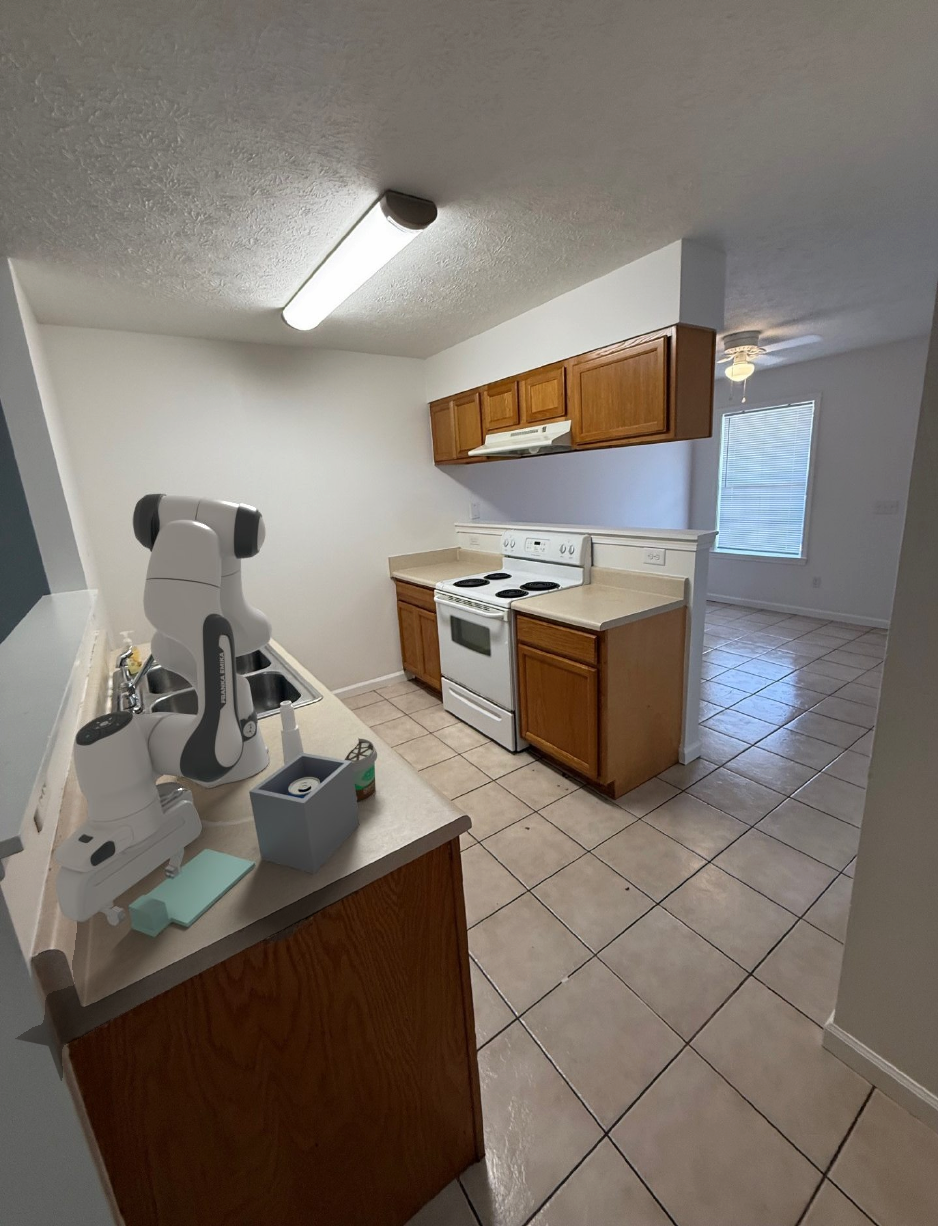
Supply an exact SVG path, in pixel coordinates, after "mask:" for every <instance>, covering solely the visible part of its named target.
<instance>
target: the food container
mask: <svg viewBox="0 0 938 1226" xmlns="http://www.w3.org/2000/svg"><path fill="white" fill-rule="evenodd" d="M357 742H358V743H357V744H356V745H355V746H354V748H352V749H351V750H350V751H349V752H348V753H347V755H346V756H345V758H344V760H348V761H352V767H353V775H354V783H355V791H356V799H357V804H358V803H361V802H364V801H366V800H367V799H369V798H371V797H372V796H373V795H374V794H375V792H376V767H375V763H376V761H377V758H378V753H377V749H376V746H375V745H374V743H373V742H372V741H370V740H368V739H365V738H358V741H357Z"/></svg>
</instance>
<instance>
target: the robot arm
mask: <svg viewBox="0 0 938 1226" xmlns="http://www.w3.org/2000/svg"><path fill="white" fill-rule="evenodd" d="M131 521H132V523H131V524H132V527H133V533H134V536H135V539H136V540H137V541H138V542H139V543H140V544H141V546H143V547H144V548H146V549H148V550H149V552H151V553H150V557H149V561H148V565H147V571H146V576H145V583H144V584H145V585H144V591H143V600H142V601H143V610H144V615H145V618H147V620H148V621H149V623H150V625H152V627H153V628H155V629H156V630H155V632H154V634H153V635H152V638H151V641H150V652H151V656H152V657H153V660H154V661H155V662H156V663H157V664H158V665H159V666H160V667H161V668H163V669H165V670H166V671H170V672H173V673H175V674H176V675H177V674H178V675H179V676H181V677H182V678H184V679H185V680H186V681H188V683H189V684H190V685H191V687H192V688H193V689H194V690H195V693H196V696H197V704H198V705H197V706H198V711H197V714H188V713H187V714H186V713H181V712H179V713H178V712H169V711H168V712H167V711H157V712H149V713H145V714H138V713H132V712H130V711H126V710H125V711H124V710H121V711H113V712H110V713H106V714H104V715H100V716H98V717H96V718H94V719H91V720H90V721H89V722H87V723H86V724H85V725H83V726H82V727H81V728H80V729H79V730H78V731H77V733H76V735H75V737H74V741H73V748H72V749H73V750H72V751H73V753H72V755H73V764H74V770H75V773H76V778H77V782H78V785H79V788H80V792H81V793H82V795H83V796H84V797H85V798H86V802H87V808H86V814H87V818H86V819H85V820H84V822H83V823H82V824H80V826H79V827H78V828H77V829H76V830H75V831H74V832H73V833H72V834H71V835H70V836H69V837H68V838H67V839H66V840H65V841H63V842H62V843H61V844H60V845H59V846H58V847H57V848H56V849H55V850H54V852H53V855H52V856H53V859H54V862H55V863H57V864H58V865H59V866H61V867H60V868H59V869H58V871H57V874H56V877H55V888H56V889H55V890H56V896H57V897H56V898H57V902H58V906H59V909H60V913H61V915H62V916H63V917H64V918H66V919H68V920H70V921H74V922H79V923H84V922H87V920H89V919H90V918H92V917H93V916H94V915H96V914H97V913H98V912H99V913H102V914H104V915H106V918H107V919H106V920H107V922H108V923H109V925H112V926H117V925H118V924H119V923H121V922H122V921H123V920H125V918H126V914H125V910H124V909H125V908H122V907H119V906H117V905H114V902H113V901H115V899H116V898H118V897H120V896H121V895H122V894H124V893H125V892H126V891H127V890H129V889H130V888H131V887H133V886H134V885H135V884H137V883H138V882H139V881H141V880H142V879H143V878H145V877H146V876H147V875H149V874H150V873H152V872H153V871H154V870H155V869H157V868H158V867H159V866H161V865H162V864H163V863H165V862H166V861H167V860H169V863H168V865H167V866H166V867H165V868H164V871H165V875H166V878H169V879H170V878H171V879H174V878H176V877H177V876H178V875H180V874H181V873H182V871H181V868H182V867H181V865H182V861H183V857H184V855H185V847H186V846H188V845H189V844H190V843H192V842H194V840H195V839H197V838H198V837H199V836H200V835H201V832H202V829H203V825H202V821H201V819H200V816H199V814H198V810H197V809H196V807H195V806H196V805H194V798H193V792H192V791H191V790H190V789H189V788H184V787H183V789H181V788H179V789H177V790H175V791H173V792H172V793H171V794H170V795H168V796H166V797H164V798H162V799H160V797H159V793H158V789H157V787H156V785H157V780H159V779H160V778H161V777H163V776H172V777H182V778H184V779H188V780H189V781H191V782H194V783H196V784H198V785H200V786H202V787H204V788H206V789H211V788H214V787H218V786H221V785H224V784H227V783H234V782H238V781H242V780H245V779H249V778H250V777H252V776H254V775H256V774H258V773H260V772H261V771H263V770H264V769H265V768H266V767H267V766H268V764H269V763H270V757H269V754H268V752H269V747H268V745H266V744H265V742H264V741H265V740H264V737H263V734H262V732H261V731H262V730H261V728H260V725H259V721H258V713H257V711H256V708H255V707H254V704H253V697H252V693H251V687H250V686H251V685H250V683H249V681H248V679H247V678H246V677H245V676H243V675H242V674H240V673H237V663H236V662H237V661H236V660H237V659H236V657H240V656H244V655H248V654H252V653H253V652H256V651H258V650H260V649H262V648H264V647H266V646H267V645H268V644H270V641H271V639H272V635H273V628H272V623H271V620H270V618H269V617H268V615H266V613H265V612H263V611H262V610H260V609H258V608H256V607H254V606H252V605H251V604H250V603H249V602H248V601H247V599H246V598H245V596H244V593H243V585H242V584H243V583H242V560H243V559H250V558H253V557H254V556H256V555H257V554H259V553H260V550H261V549H262V546H263V544H264V543H265V539H266V524H265V521H264V519H263V515H262V513H261V512H260V511H259V509H258V508H256V507H255V506H252V505H249V504H246V503H243V502H240V503H235V502H231V501H227V500H223V499H218V498H213V497H206V496H203V497H199V496H187V495H167V494H166V493H150V494H145V495H144V496H143V497H141V498H140V499H139V500H137V502H136V504H135V507H134V510H133V513H132V520H131Z"/></svg>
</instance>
